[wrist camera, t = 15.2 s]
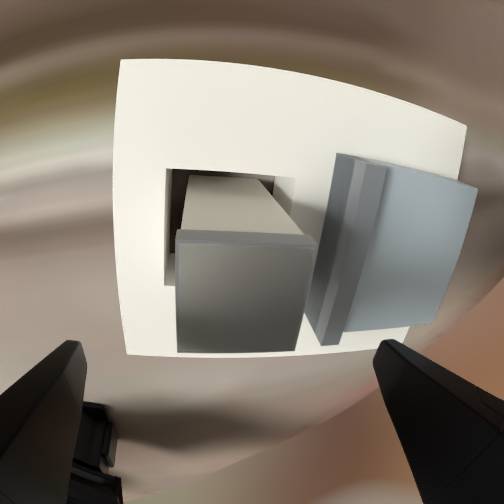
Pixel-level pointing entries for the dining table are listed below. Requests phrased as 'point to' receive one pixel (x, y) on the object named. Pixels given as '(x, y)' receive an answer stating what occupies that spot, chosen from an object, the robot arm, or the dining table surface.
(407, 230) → the panel
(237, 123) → the socket block
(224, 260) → the peg
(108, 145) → the dining table surface
